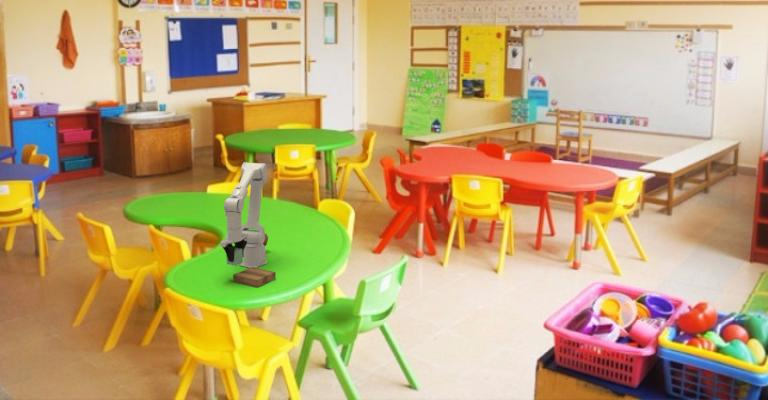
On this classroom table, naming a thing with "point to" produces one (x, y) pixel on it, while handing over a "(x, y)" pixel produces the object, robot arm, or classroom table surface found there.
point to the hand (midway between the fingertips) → (235, 259)
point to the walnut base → (254, 277)
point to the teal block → (236, 257)
